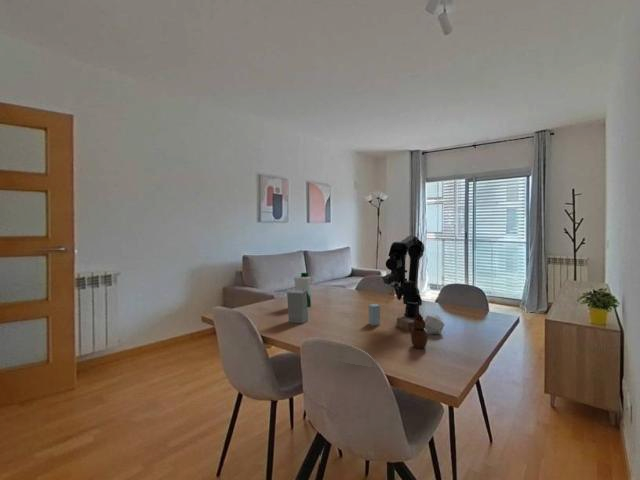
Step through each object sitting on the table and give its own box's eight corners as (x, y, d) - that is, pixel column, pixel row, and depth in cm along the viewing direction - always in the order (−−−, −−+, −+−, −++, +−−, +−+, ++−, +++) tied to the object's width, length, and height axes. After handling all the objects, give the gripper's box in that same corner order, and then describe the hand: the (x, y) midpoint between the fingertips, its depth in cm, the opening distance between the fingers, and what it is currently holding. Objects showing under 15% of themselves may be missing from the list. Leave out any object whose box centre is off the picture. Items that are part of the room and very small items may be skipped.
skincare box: (308, 320, 175) (308, 290, 175) (301, 324, 169) (301, 292, 168) (293, 319, 179) (293, 289, 178) (287, 322, 172) (286, 291, 172)
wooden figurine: (409, 344, 141) (409, 308, 140) (422, 343, 141) (423, 307, 141) (415, 350, 134) (415, 312, 134) (429, 349, 135) (429, 312, 134)
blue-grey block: (375, 322, 172) (375, 303, 171) (379, 324, 168) (379, 305, 168) (368, 323, 170) (368, 304, 170) (372, 325, 167) (372, 306, 166)
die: (440, 339, 149) (450, 319, 152) (423, 328, 150) (432, 309, 153) (434, 339, 157) (443, 321, 159) (417, 329, 158) (426, 311, 161)
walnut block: (403, 316, 168) (415, 321, 159) (403, 324, 168) (415, 330, 159) (396, 317, 167) (408, 322, 158) (396, 325, 167) (408, 331, 158)
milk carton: (312, 306, 206) (312, 273, 205) (303, 309, 199) (303, 275, 198) (301, 304, 211) (301, 272, 210) (292, 307, 204) (291, 273, 203)
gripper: (374, 266, 172) (374, 297, 173) (396, 271, 155) (396, 305, 155) (393, 265, 176) (393, 295, 177) (416, 270, 159) (416, 303, 159)
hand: (399, 299), depth 167 cm, fingers closed
